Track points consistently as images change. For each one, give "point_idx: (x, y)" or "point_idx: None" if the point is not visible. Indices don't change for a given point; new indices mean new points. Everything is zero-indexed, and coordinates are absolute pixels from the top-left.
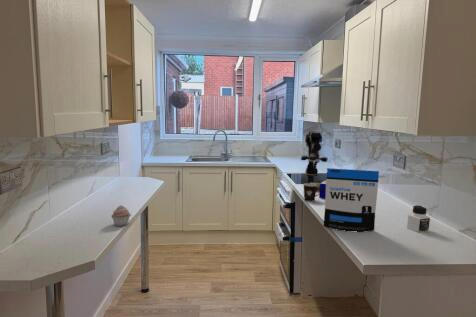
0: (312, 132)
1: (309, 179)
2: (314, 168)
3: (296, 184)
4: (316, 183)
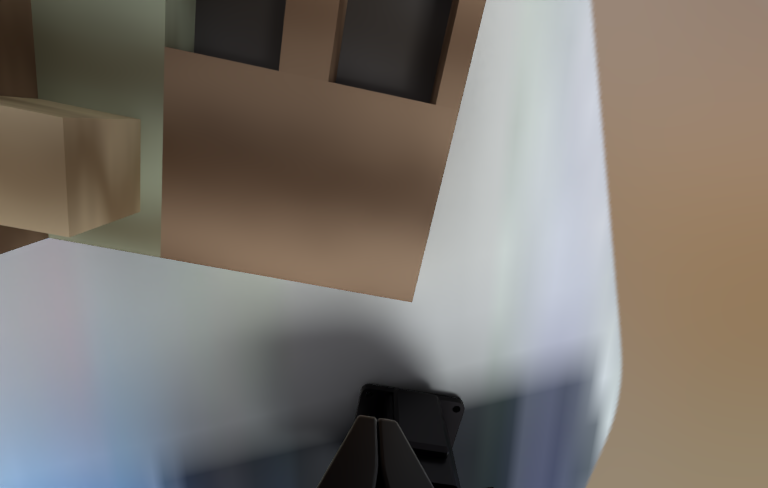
0: None
1: (427, 431)
2: (345, 456)
3: (585, 330)
4: (322, 256)
